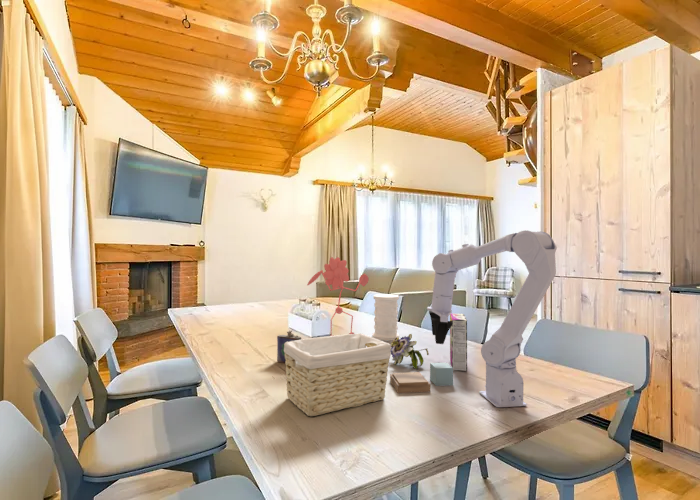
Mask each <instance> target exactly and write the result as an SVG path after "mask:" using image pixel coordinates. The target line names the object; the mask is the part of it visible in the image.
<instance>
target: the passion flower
mask: <svg viewBox="0 0 700 500" xmlns="http://www.w3.org/2000/svg"><path fill="white" fill-rule="evenodd" d="M412 338H413V333H409V334H408V336H407V335H404V336H402V337H399V338H395V339H394V340H392V342H391V343H390V345H391V355H392V356H391V355H390V356H391V357H392V359H391V361H394V362H393V365H395V366H396V365H398V364H401V363H402V362H403V360H404V357H406V358H409V357H410V358H411V359H410V360H411V364H412V368H414V369H416V370H417V369H418V364H419V362H420V366H421V367H423V364H424V362H425V361H424V357H423V354H422V353H421V352H420V351H426V355H427V356H429V355H430V353H429V350H428V348H424V349H419V350H415V348H414V346H415V345H417V341H416V340H413V341H411V340H412ZM418 360H419V361H418Z"/></svg>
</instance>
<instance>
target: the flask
mask: <svg viewBox="0 0 700 500" xmlns="http://www.w3.org/2000/svg"><path fill="white" fill-rule="evenodd" d="M292 332H293V330H289V331H286V333H287V334H278V335H277V337H276V340H277V343H276V344H277V345H276V346H277V350H276V357H277V358H276V361H277V363H280V364H285V361H286V359H285V353H284V344H285V342H290V341H295V340H300V339H302V337H301V336H298V334H297V335H295V334H294V333H292Z"/></svg>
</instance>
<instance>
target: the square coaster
mask: <svg viewBox="0 0 700 500" xmlns="http://www.w3.org/2000/svg"><path fill="white" fill-rule="evenodd" d="M389 379H390V380H389V382H390V383H391V384H392V387H394V389H395V391H396V393H398V394H402V393H403V394H404V393H405V394H406V393H407V394H409V393H427V392H429V393H431V383H430V381H428V380H427V379H426V378H425V376H423V374H422V373H421V372H419V371H417V372H416V371H414V372H413V371H411V372H392V373H390V375H389Z"/></svg>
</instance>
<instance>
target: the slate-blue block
mask: <svg viewBox="0 0 700 500" xmlns="http://www.w3.org/2000/svg"><path fill="white" fill-rule="evenodd" d="M429 380H430V382H431V383H432V384H433V385H434V386H435V387H440V386H441V387H442V386H445V387H446V386H454V370H453V367H451V364H449V363H448V362H430V363H429Z"/></svg>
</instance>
